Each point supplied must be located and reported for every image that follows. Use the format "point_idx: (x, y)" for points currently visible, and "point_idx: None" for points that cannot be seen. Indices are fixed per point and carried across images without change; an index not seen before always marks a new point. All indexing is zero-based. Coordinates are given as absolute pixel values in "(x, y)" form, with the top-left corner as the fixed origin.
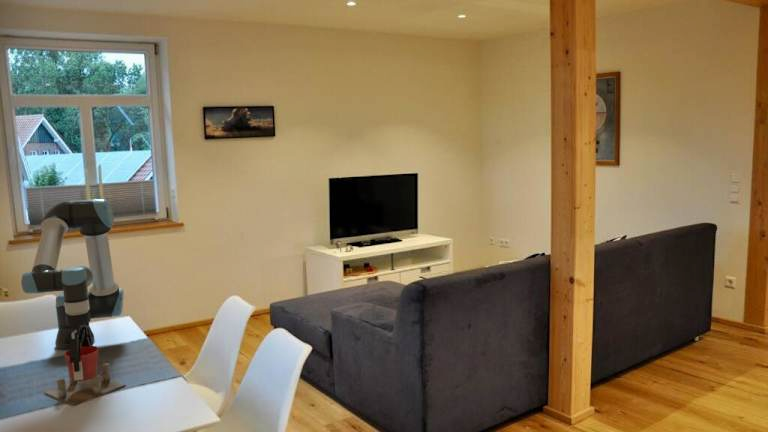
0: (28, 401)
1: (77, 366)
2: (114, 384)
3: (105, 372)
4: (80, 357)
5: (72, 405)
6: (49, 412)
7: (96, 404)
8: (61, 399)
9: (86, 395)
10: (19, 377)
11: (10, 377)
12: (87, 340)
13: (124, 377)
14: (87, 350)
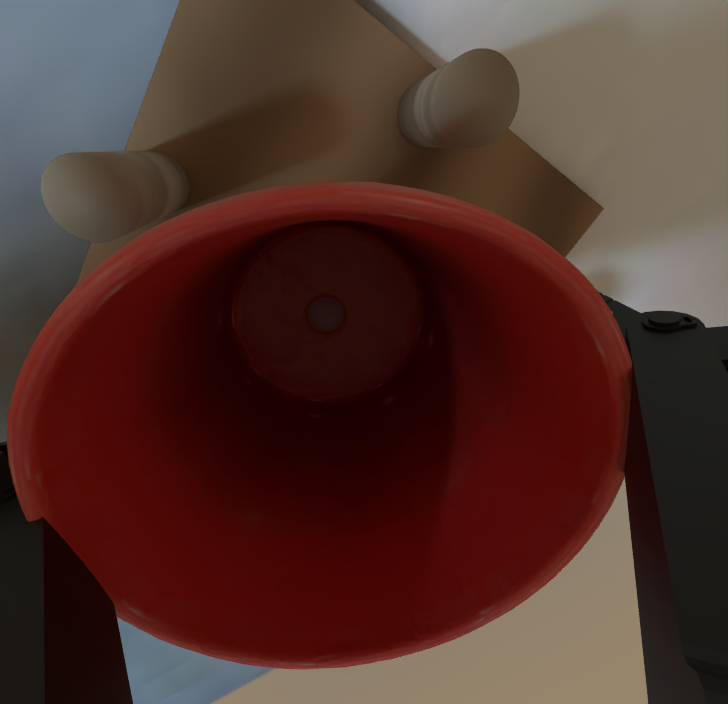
0: None
1: (623, 313)
2: (232, 45)
3: (157, 177)
4: (636, 350)
5: (595, 212)
6: (644, 307)
7: (604, 19)
8: None
9: (458, 193)
10: (197, 672)
11: (204, 695)
12: (49, 666)
13: (16, 52)
14: (118, 483)
